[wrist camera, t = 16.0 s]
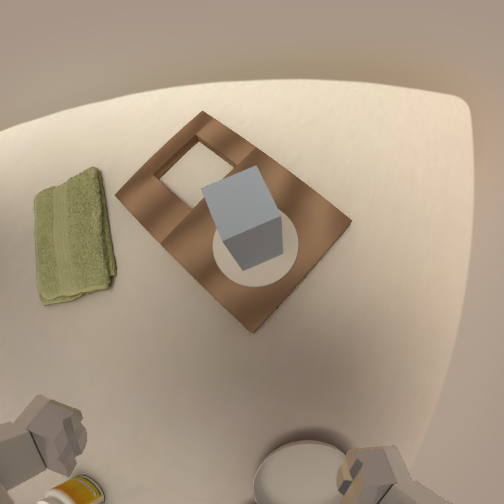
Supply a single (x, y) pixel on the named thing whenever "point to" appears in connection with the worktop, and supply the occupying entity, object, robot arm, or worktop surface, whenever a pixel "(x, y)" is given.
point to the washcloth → (73, 239)
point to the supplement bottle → (75, 492)
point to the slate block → (246, 217)
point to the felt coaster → (264, 271)
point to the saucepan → (299, 474)
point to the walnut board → (203, 227)
